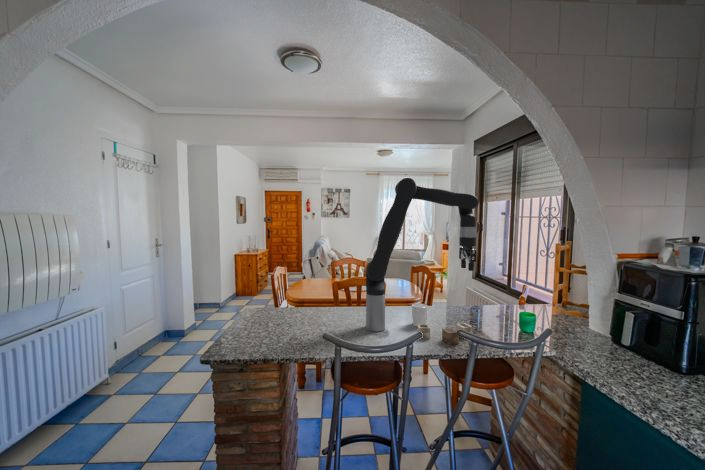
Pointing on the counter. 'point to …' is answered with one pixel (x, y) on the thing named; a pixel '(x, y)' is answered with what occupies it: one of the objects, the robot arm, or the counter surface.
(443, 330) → the walnut cube
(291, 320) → the counter surface
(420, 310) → the white cup
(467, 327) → the beech cube right
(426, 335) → the beech cube left
